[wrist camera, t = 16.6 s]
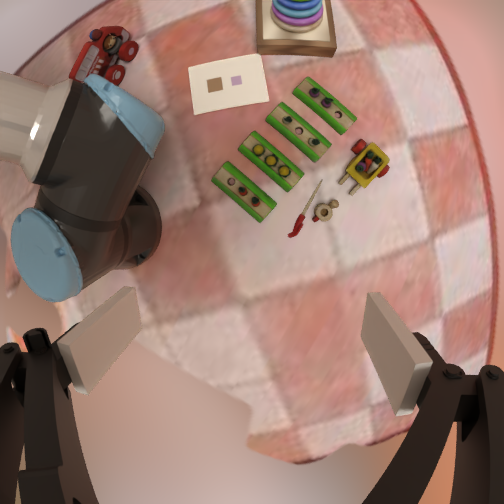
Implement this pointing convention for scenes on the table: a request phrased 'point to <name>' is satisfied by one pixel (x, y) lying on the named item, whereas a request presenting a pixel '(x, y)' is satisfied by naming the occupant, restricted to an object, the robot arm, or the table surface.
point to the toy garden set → (311, 144)
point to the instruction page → (228, 83)
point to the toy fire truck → (104, 55)
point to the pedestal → (294, 35)
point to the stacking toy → (297, 14)
